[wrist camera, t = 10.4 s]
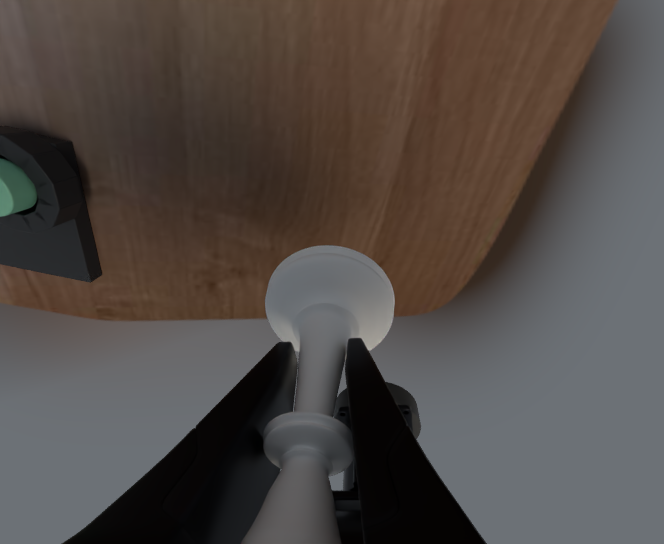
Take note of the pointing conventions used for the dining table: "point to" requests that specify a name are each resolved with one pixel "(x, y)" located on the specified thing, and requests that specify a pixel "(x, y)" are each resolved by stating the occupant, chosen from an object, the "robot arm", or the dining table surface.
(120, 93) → the dining table surface
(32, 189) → the button
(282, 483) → the chess piece
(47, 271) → the black button base
